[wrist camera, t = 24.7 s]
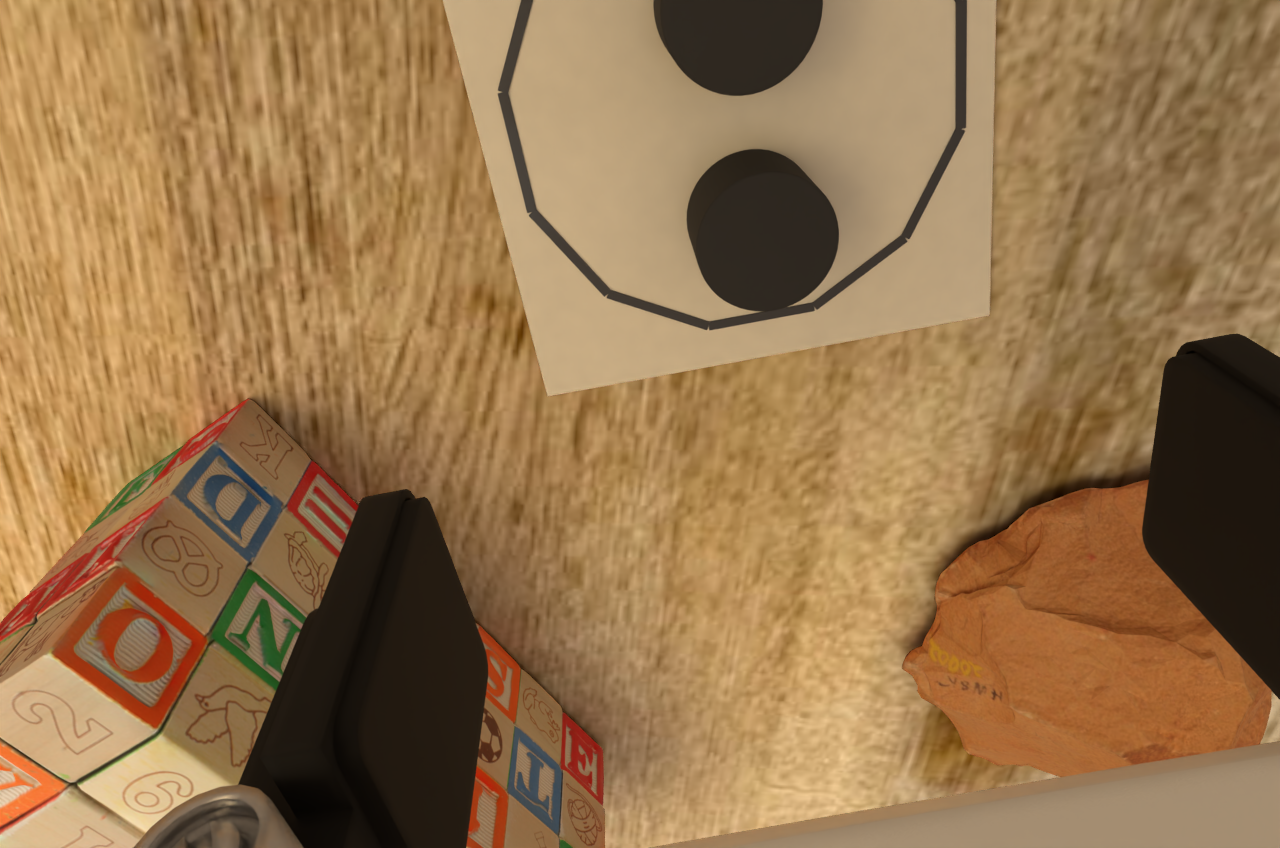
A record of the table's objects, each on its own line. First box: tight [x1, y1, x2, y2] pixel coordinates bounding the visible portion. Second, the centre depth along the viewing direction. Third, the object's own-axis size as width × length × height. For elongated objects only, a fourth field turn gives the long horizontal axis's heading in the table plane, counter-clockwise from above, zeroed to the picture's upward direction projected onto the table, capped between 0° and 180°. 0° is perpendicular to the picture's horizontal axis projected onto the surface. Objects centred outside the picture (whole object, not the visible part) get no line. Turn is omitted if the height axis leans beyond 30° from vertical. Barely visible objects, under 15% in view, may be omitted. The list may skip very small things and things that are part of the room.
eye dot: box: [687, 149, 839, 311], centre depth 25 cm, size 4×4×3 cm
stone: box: [902, 480, 1272, 777], centre depth 32 cm, size 15×15×10 cm
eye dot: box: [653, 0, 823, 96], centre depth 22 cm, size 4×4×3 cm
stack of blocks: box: [0, 399, 605, 848], centre depth 29 cm, size 21×6×12 cm, turn 34°
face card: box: [443, 0, 996, 396], centre depth 25 cm, size 16×15×1 cm
